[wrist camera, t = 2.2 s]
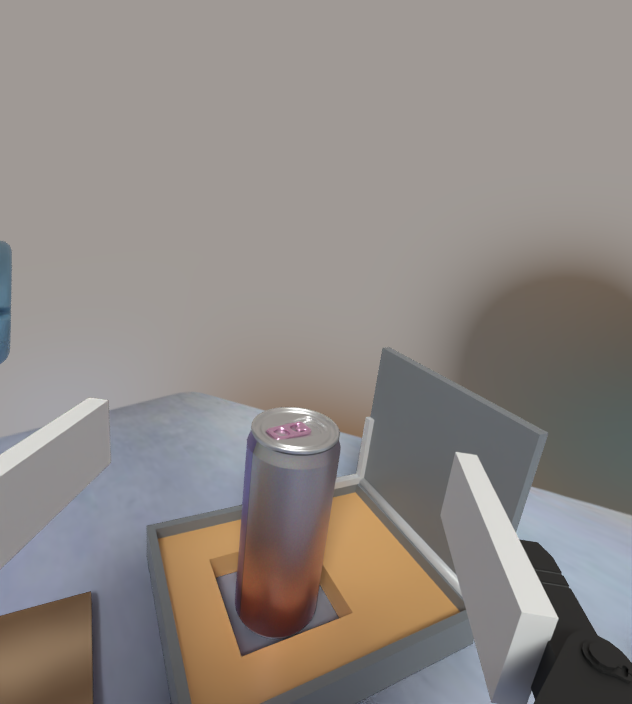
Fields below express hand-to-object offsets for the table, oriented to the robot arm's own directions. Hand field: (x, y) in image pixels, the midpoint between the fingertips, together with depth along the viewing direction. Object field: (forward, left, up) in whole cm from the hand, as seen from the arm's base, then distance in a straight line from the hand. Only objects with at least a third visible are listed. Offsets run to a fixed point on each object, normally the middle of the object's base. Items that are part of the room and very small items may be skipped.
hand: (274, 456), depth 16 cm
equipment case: (-9, +7, -19) cm, 22 cm away
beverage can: (-9, +5, -19) cm, 22 cm away
